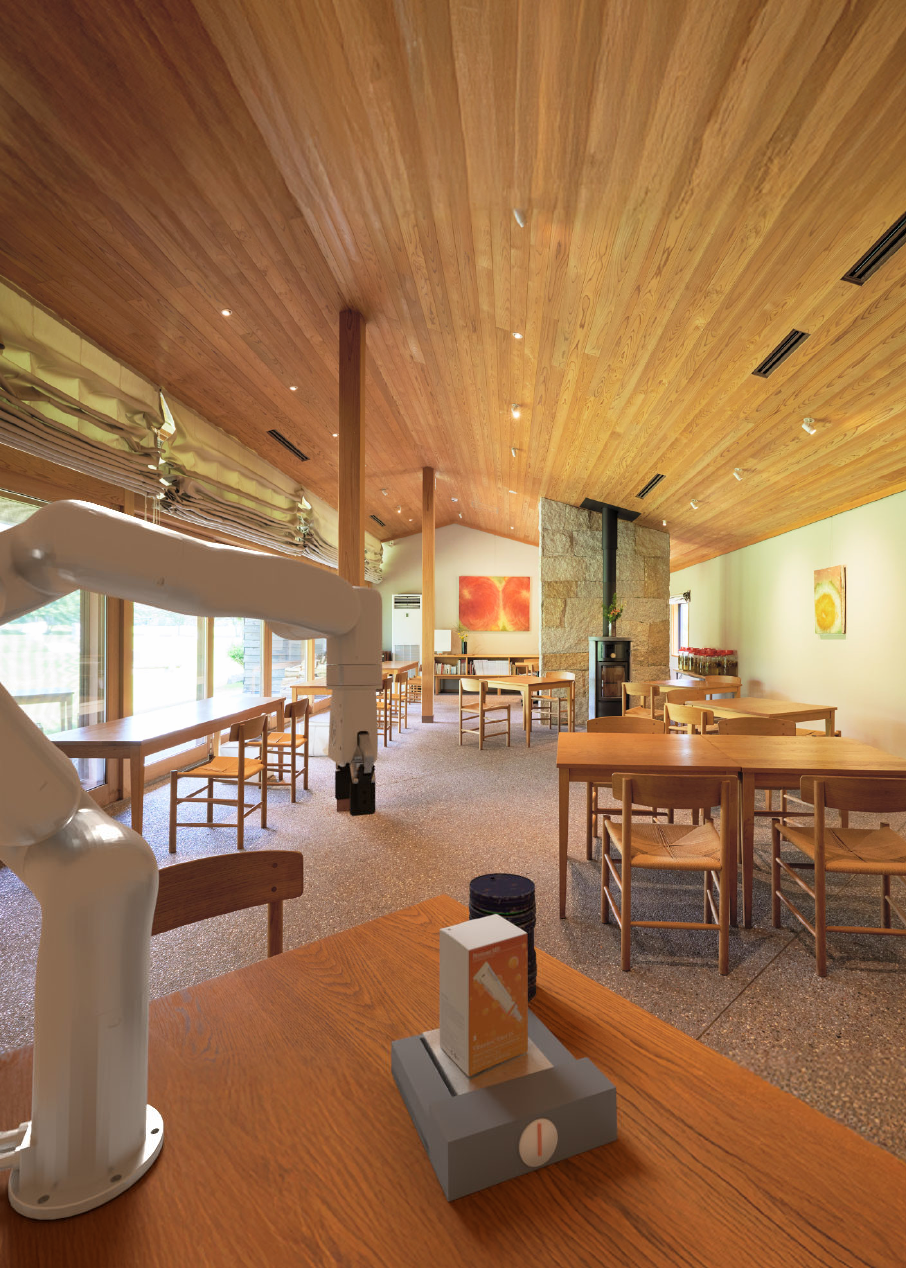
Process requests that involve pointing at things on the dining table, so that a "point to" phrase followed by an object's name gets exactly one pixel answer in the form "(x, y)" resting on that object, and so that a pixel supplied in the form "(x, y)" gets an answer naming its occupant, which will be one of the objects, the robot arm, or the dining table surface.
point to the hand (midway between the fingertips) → (354, 806)
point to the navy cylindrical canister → (508, 909)
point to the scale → (505, 1114)
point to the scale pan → (496, 1074)
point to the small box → (483, 992)
